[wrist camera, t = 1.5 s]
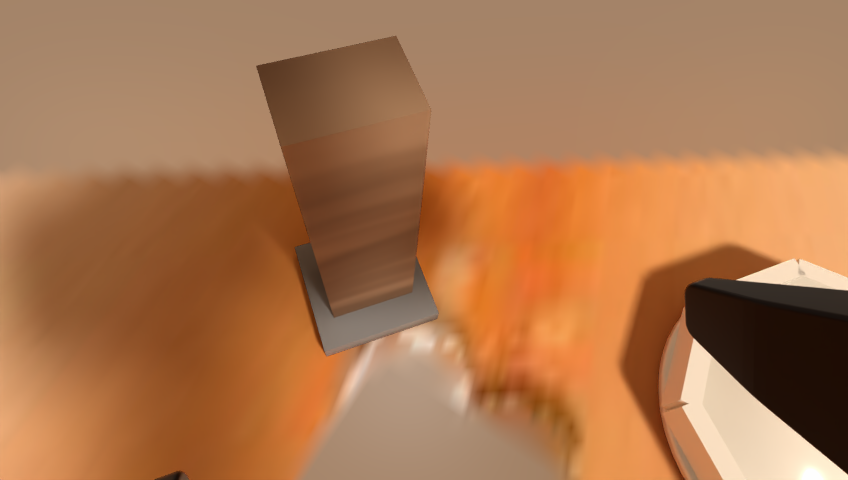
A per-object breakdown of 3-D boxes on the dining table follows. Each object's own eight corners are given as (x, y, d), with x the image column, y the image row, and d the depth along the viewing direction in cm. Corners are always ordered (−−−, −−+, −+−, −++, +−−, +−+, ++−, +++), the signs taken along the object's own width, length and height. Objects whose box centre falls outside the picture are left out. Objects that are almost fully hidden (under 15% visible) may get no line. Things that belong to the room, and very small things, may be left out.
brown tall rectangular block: (437, 318, 23) (481, 143, 11) (326, 356, 22) (258, 203, 10) (400, 224, 25) (407, -3, 14) (297, 254, 24) (214, 36, 12)
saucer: (967, 666, 18) (1038, 686, 16) (626, 501, 20) (652, 501, 18) (955, 350, 23) (1007, 336, 21) (688, 242, 25) (714, 220, 23)
